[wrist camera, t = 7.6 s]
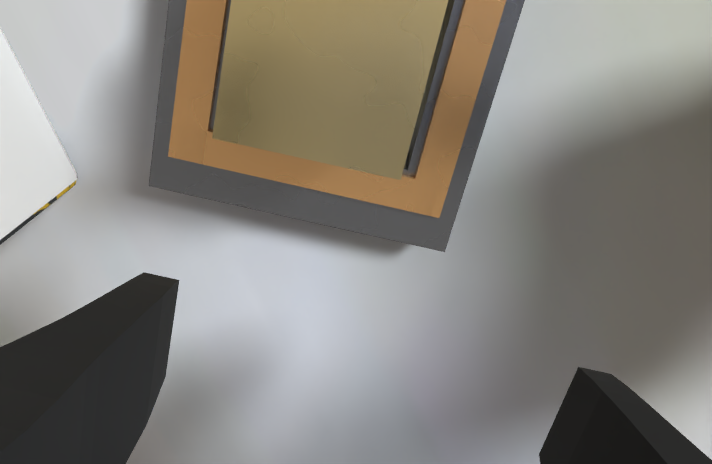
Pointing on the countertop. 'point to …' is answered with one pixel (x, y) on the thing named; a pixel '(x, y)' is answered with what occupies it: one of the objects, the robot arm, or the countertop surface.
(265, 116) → the tan rectangular block
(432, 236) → the grey rectangular frame
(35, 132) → the medicine bottle
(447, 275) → the countertop surface
